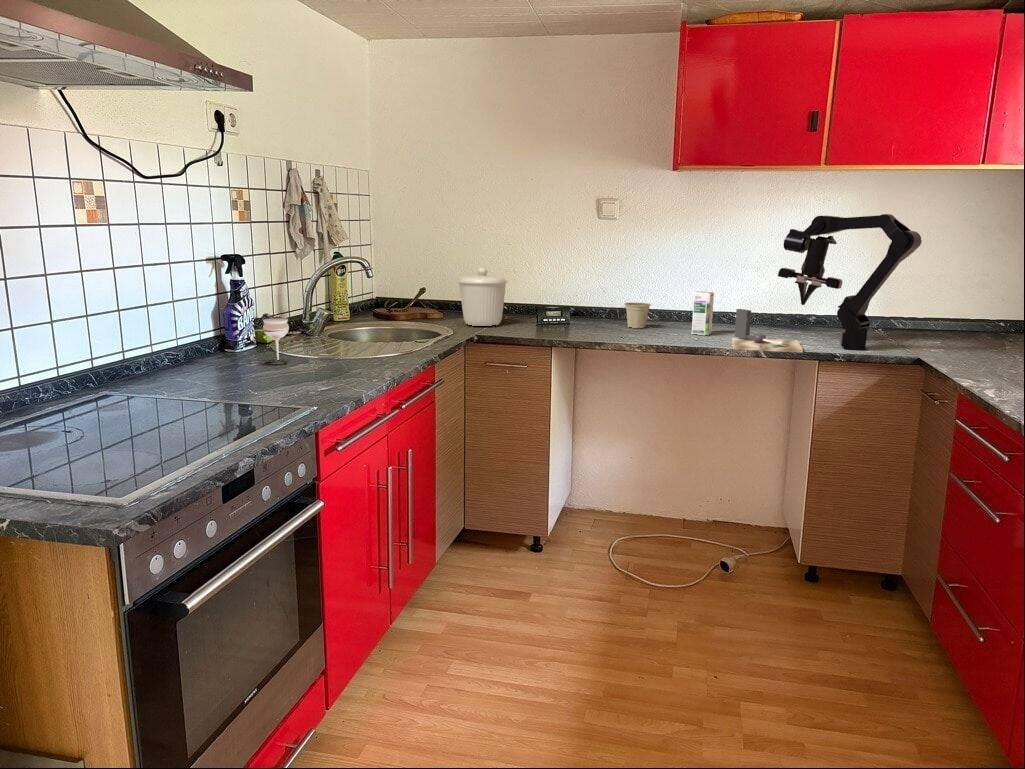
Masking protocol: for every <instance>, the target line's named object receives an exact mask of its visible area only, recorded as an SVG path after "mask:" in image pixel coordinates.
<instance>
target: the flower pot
mask: <svg viewBox="0 0 1025 769" xmlns="http://www.w3.org/2000/svg"><path fill="white" fill-rule="evenodd" d="M650 306H652V304H651V303H647V302H624V307H625V310H626V320H627V321H626V322H627V328H629V327H632V328H631V329H634V328H637V329H640V328H643V329H645V328H646V324H647V319H648V314H649V313H648V312H649V310H650ZM644 327H645V328H644Z"/></svg>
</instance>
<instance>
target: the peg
mask: <svg viewBox="0 0 1025 769" xmlns="http://www.w3.org/2000/svg"><path fill="white" fill-rule="evenodd" d="M751 318H752V310H750V309H743V308H736V312H735V327H734V328H735V329H734V338H743V339H754V340H753V341H754V342H765V341H767V342H771V343H776V344H779V345H783V342H782V341H780V342H778V341H774V340H769V339H770V338H767V335H766V334H762V333H761V334H760V333H755V334H753V335H752V334H750V331H751Z"/></svg>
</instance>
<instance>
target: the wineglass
mask: <svg viewBox="0 0 1025 769" xmlns="http://www.w3.org/2000/svg"><path fill="white" fill-rule="evenodd" d="M262 321H263V326H262V329H263V333H264V334H265V335H267V337H269V338H271V339H273V340H274V341H275V349H276V350H275V351H276V361H277V360H280V355H279V354H280V353H279V352H280V351H279V349H280V348H279V345H280V344H279V341H280V340H281V339H282V338H283V337H285V336H286V335H287V334H288V333H289V329H290V325H289V323H288V321H289V318H284V317H283V318H282V317H281V318H280V317H274V318H273V317H272V318H265V319H262Z"/></svg>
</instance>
